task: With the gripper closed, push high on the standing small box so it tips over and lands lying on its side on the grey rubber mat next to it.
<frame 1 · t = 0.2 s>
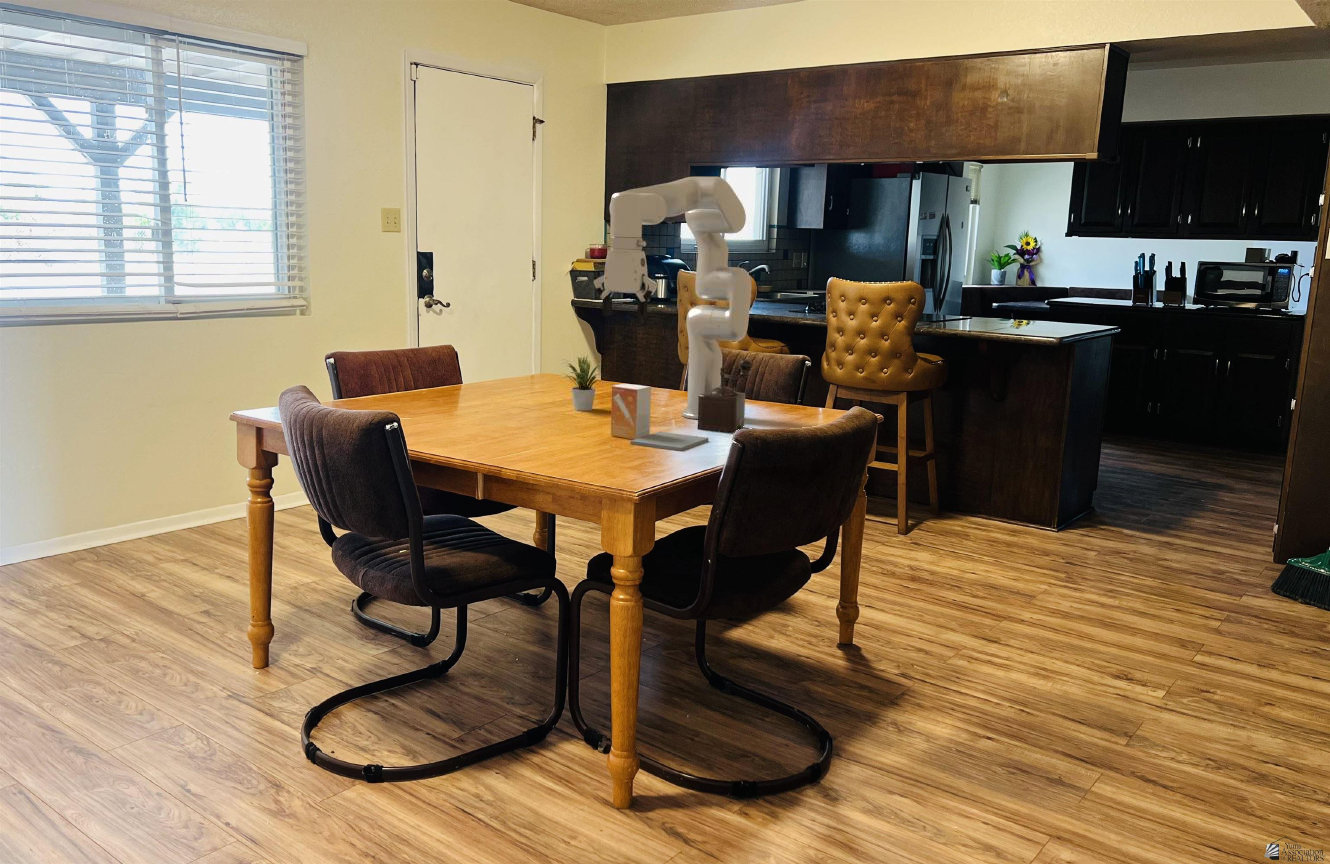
hand: (624, 316, 249), 31 cm above the table, tool pointing down, fingers open, 9 cm apart
mat: (669, 442, 255), on the table
manual coffee grinder: (725, 427, 278), on the table
house plant: (579, 409, 300), on the table
small box: (630, 437, 261), on the table
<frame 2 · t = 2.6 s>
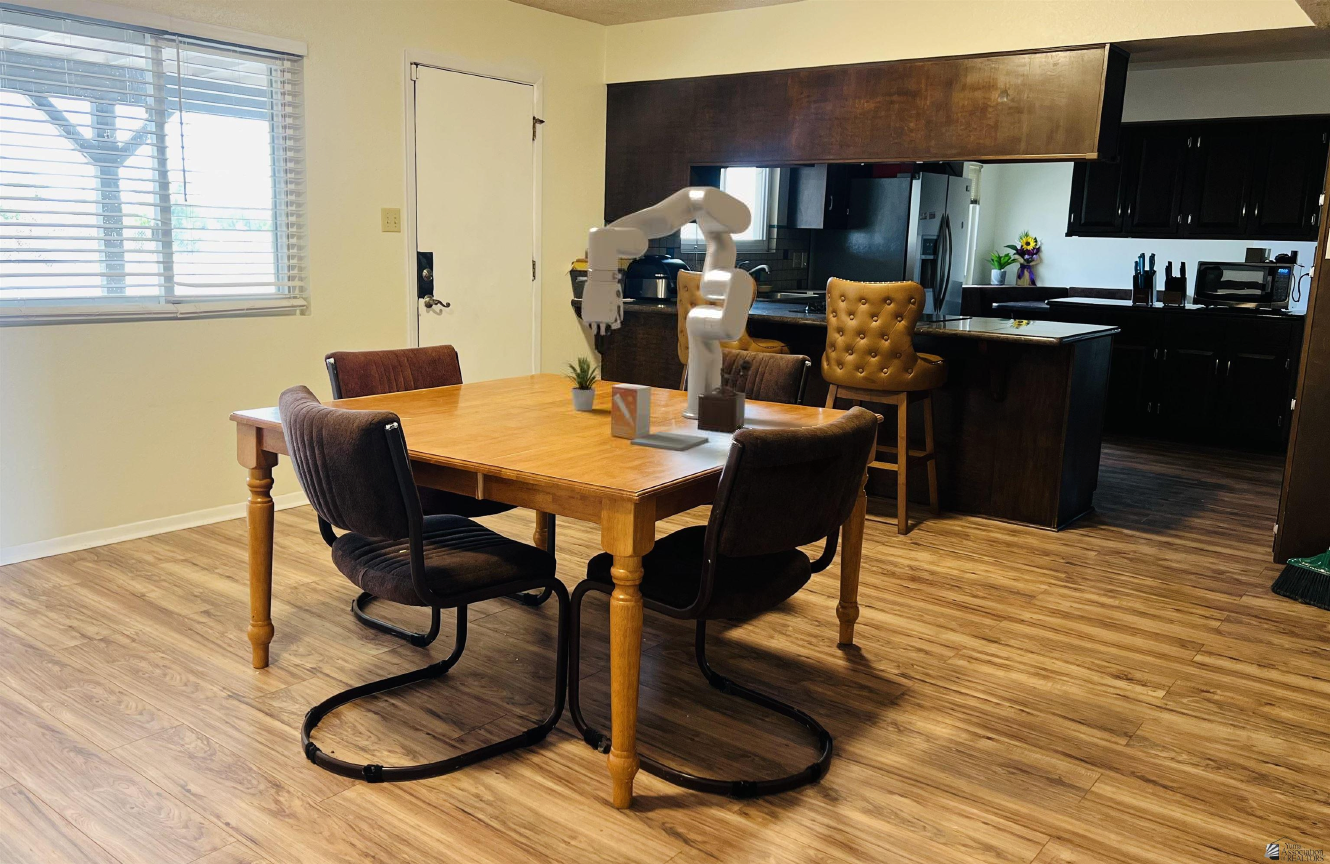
hand: (600, 349, 261), 21 cm above the table, tool pointing down, fingers closed
nothing on the table moved.
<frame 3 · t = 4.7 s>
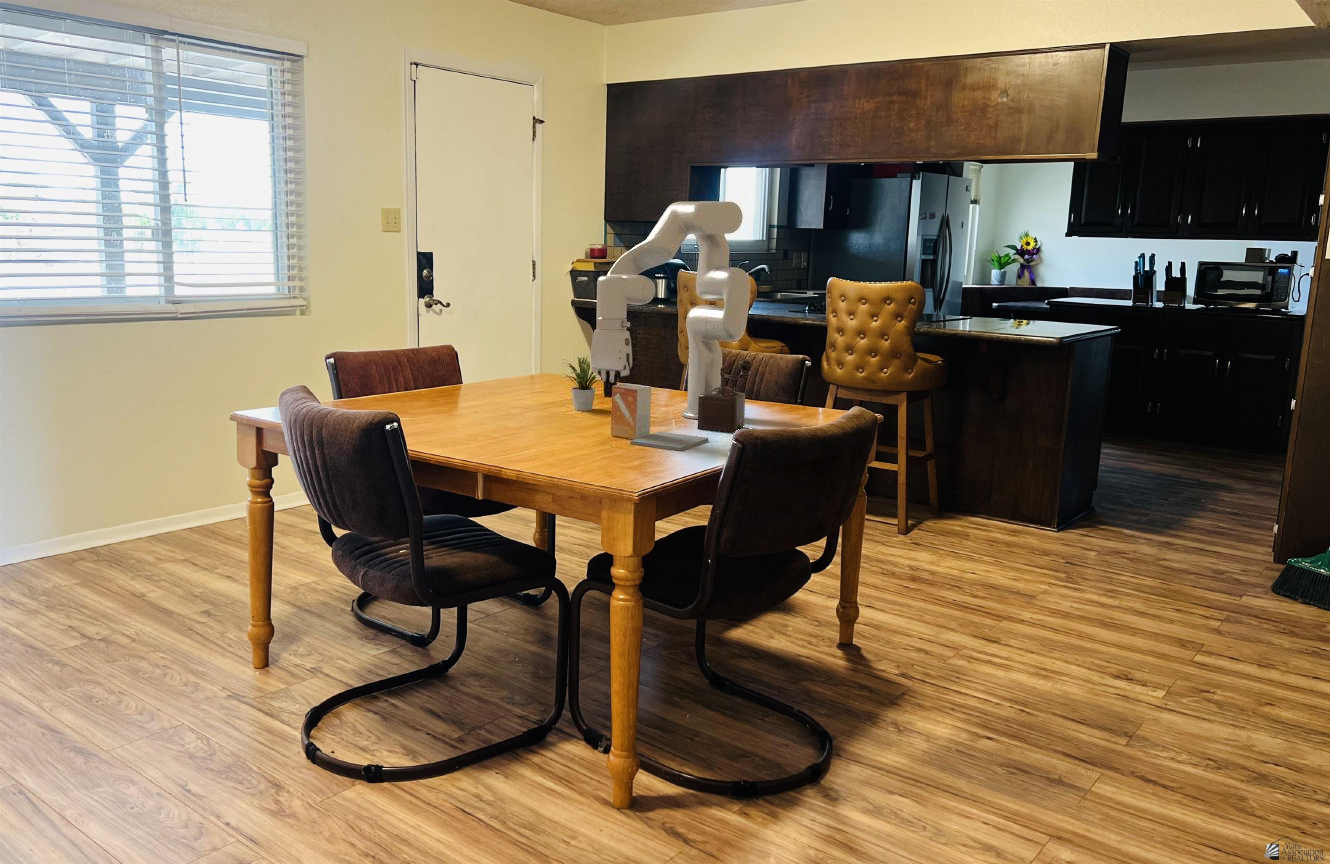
hand: (610, 396, 262), 10 cm above the table, tool pointing down, fingers closed
small box: (630, 437, 261), on the table, touching gripper
everything else where it was.
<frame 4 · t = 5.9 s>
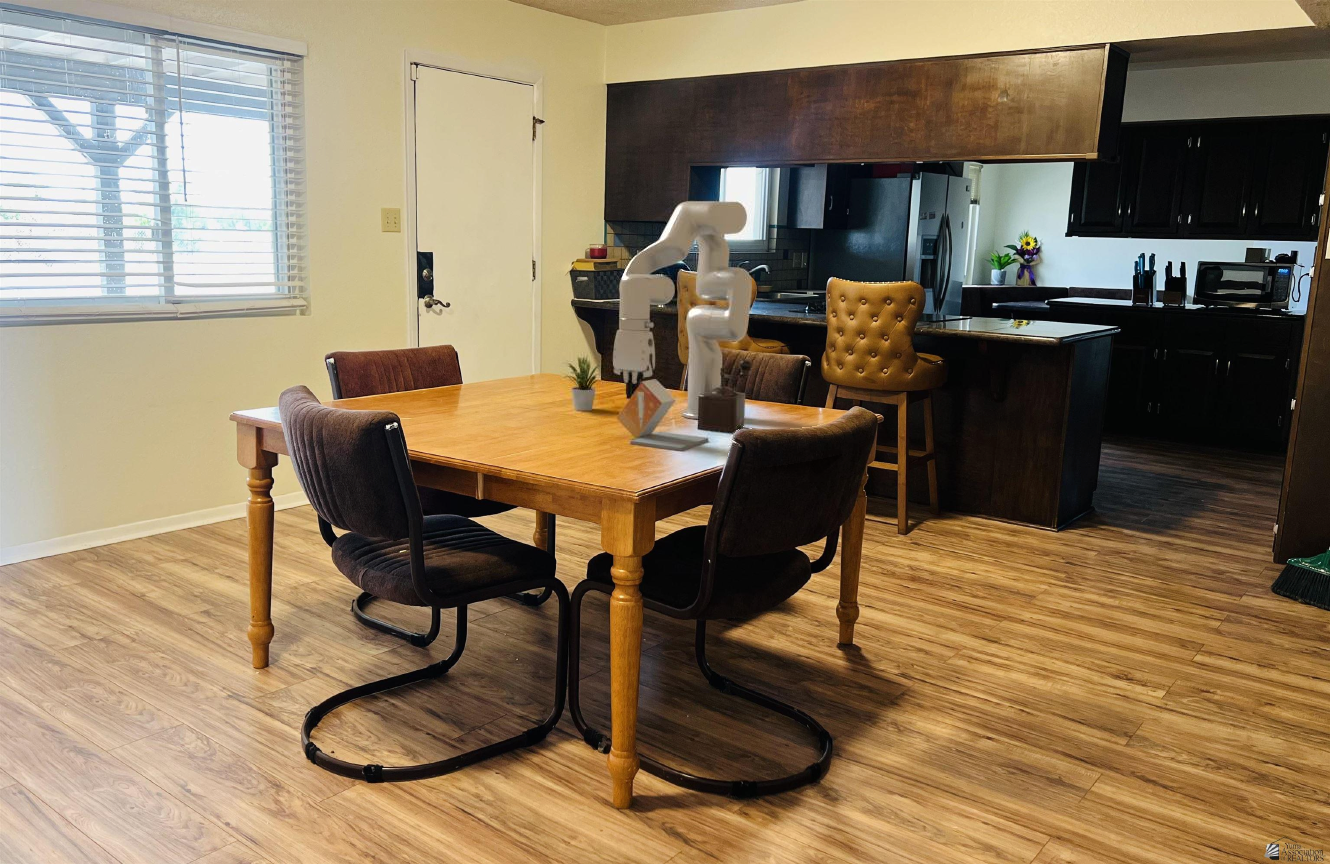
hand: (632, 398, 259), 10 cm above the table, tool pointing down, fingers closed
small box: (632, 428, 260), point 2 cm above the table, touching gripper
everything else where it was.
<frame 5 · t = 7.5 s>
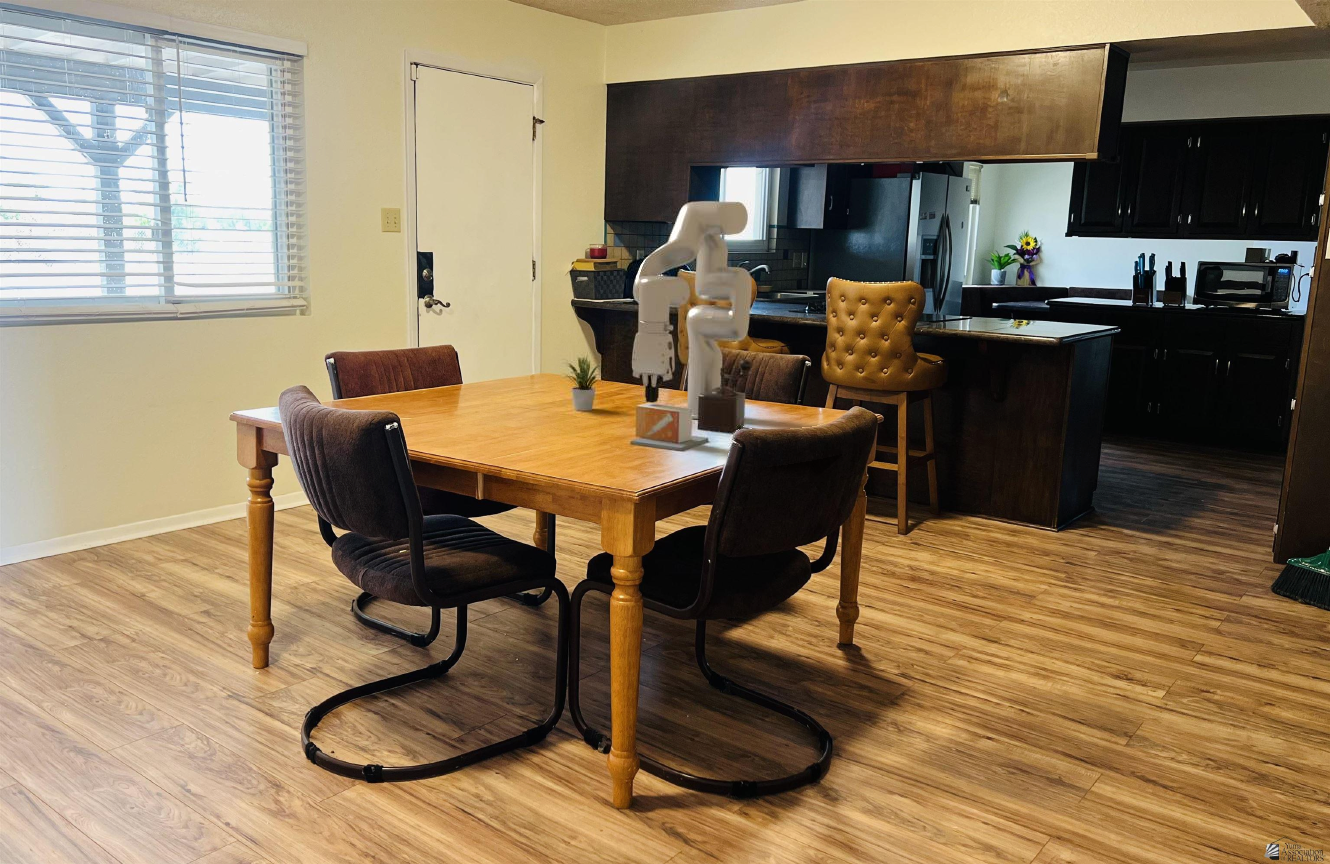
hand: (651, 401, 256), 10 cm above the table, tool pointing down, fingers closed
small box: (641, 419, 258), point 5 cm above the table, touching mat
everything else where it was.
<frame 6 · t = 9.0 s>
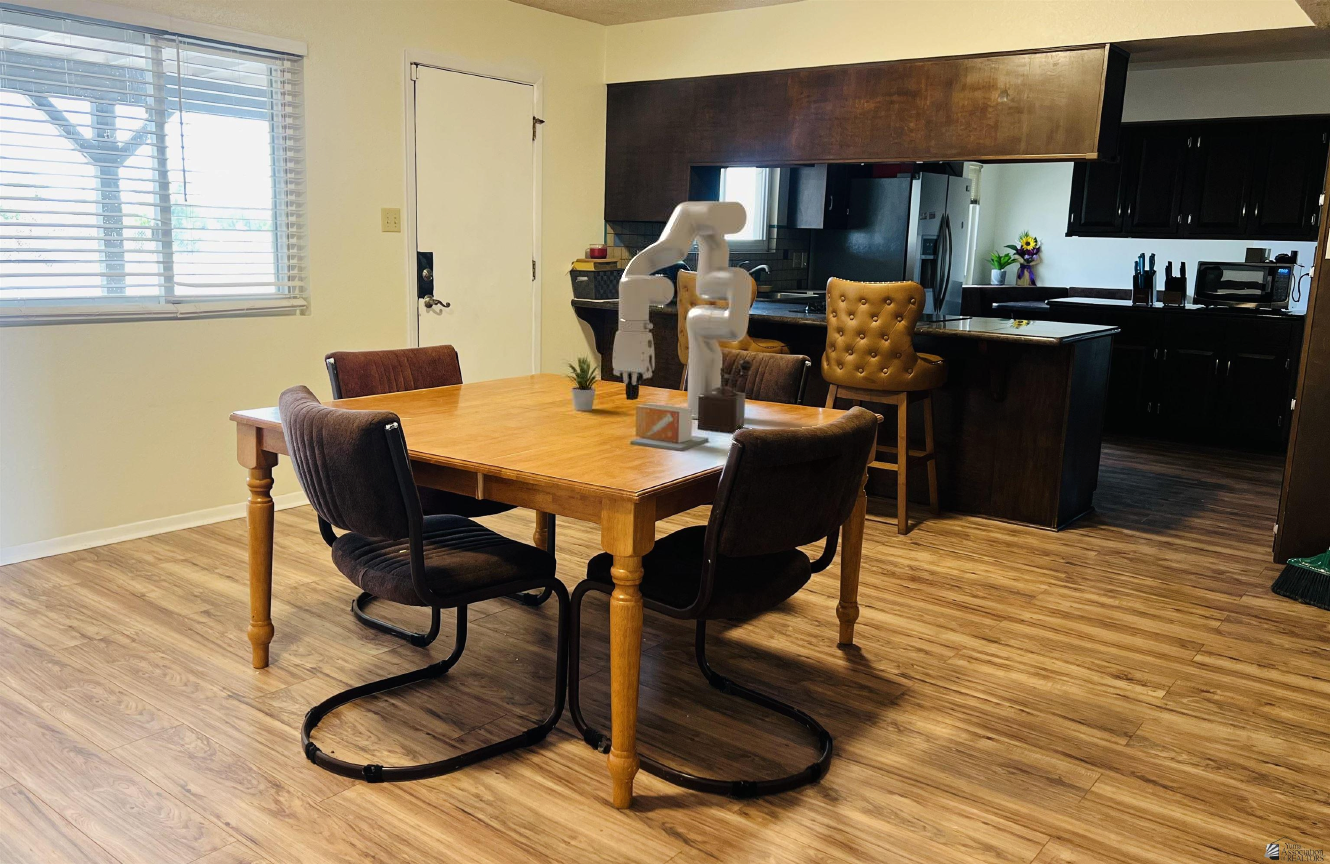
hand: (632, 399, 259), 10 cm above the table, tool pointing down, fingers closed
nothing on the table moved.
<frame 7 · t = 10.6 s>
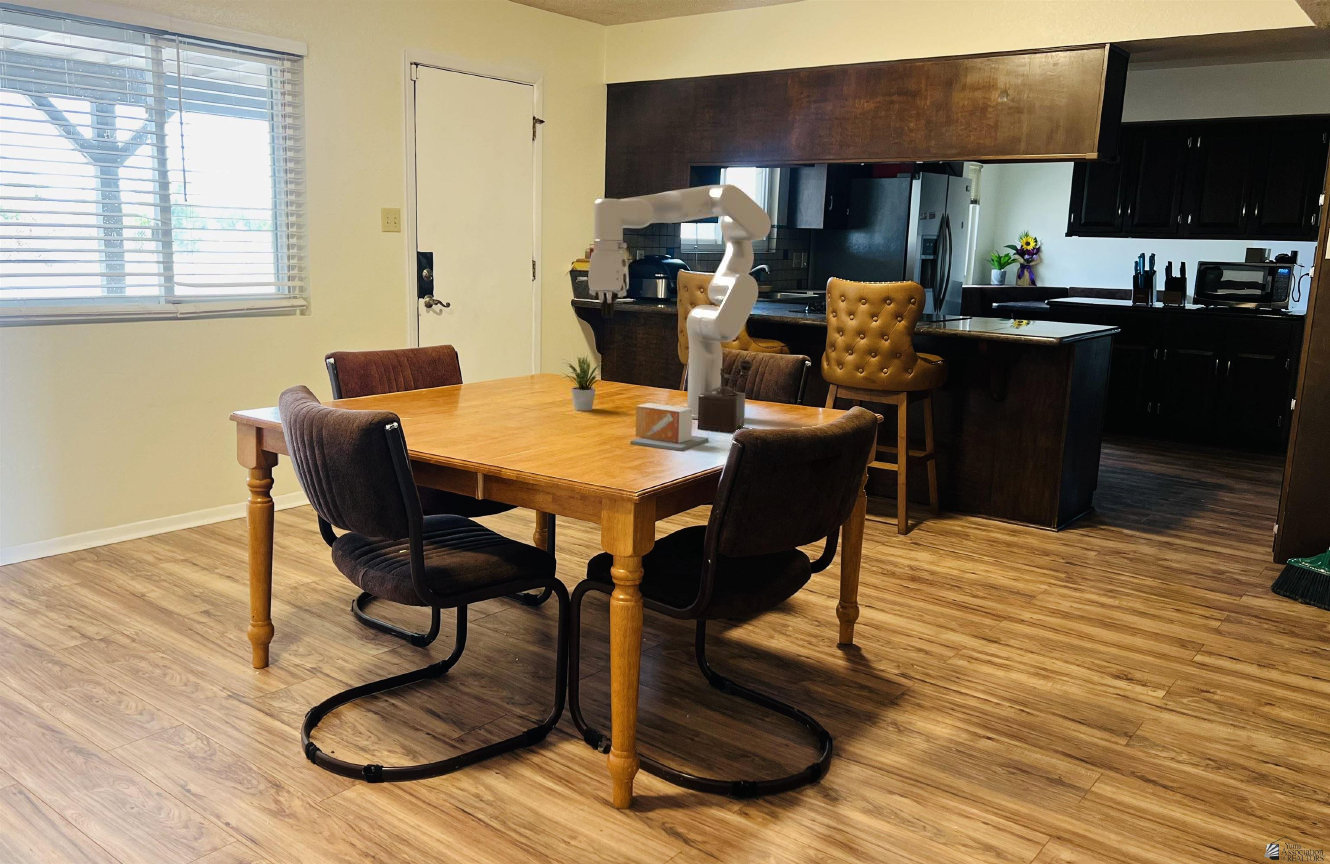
hand: (607, 317, 270), 29 cm above the table, tool pointing down, fingers closed
nothing on the table moved.
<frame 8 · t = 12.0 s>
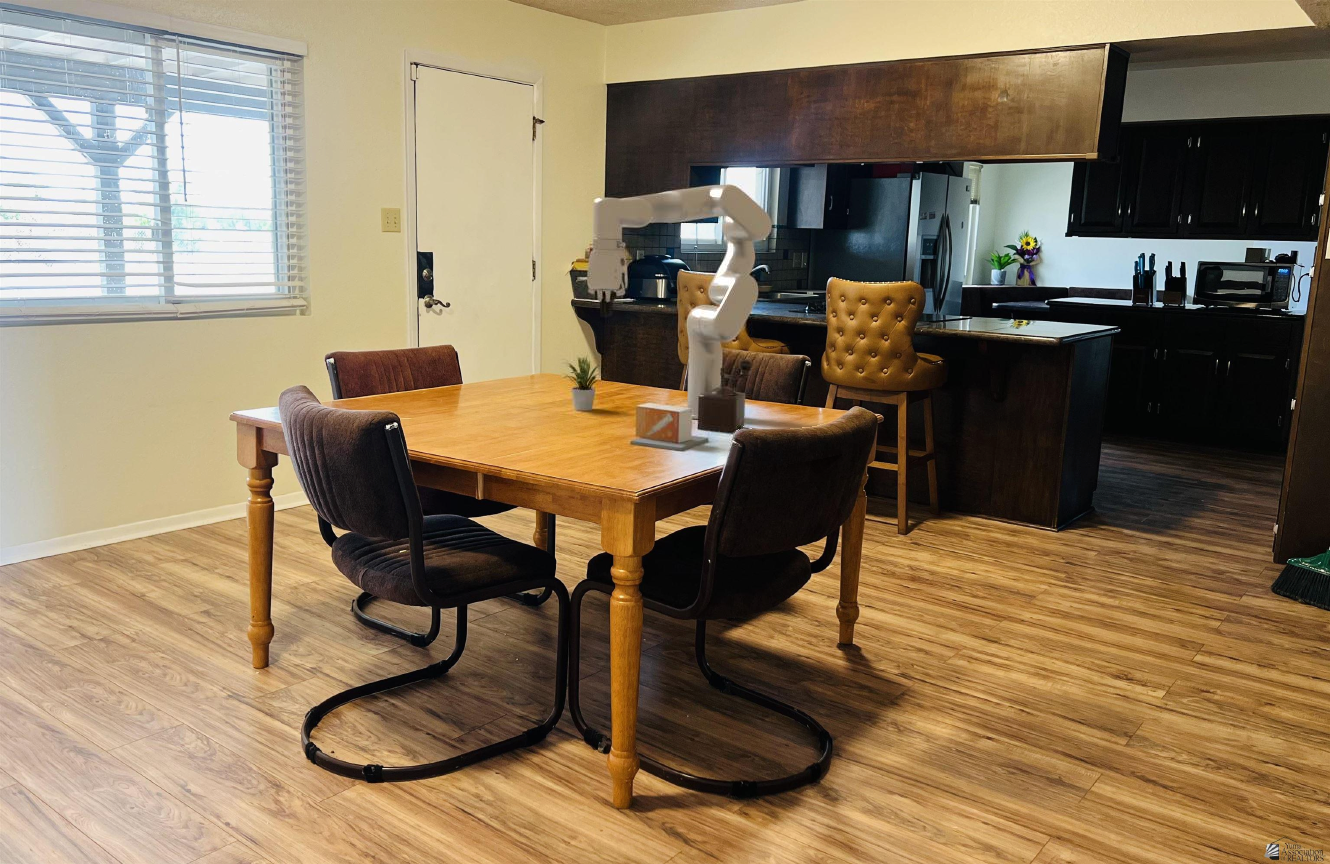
hand: (606, 316, 271), 29 cm above the table, tool pointing down, fingers closed
nothing on the table moved.
at the end: small box tilted 89°; small box inside the target area (3.2 cm from its centre), point 4.8 cm above the table; small box touching mat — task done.
